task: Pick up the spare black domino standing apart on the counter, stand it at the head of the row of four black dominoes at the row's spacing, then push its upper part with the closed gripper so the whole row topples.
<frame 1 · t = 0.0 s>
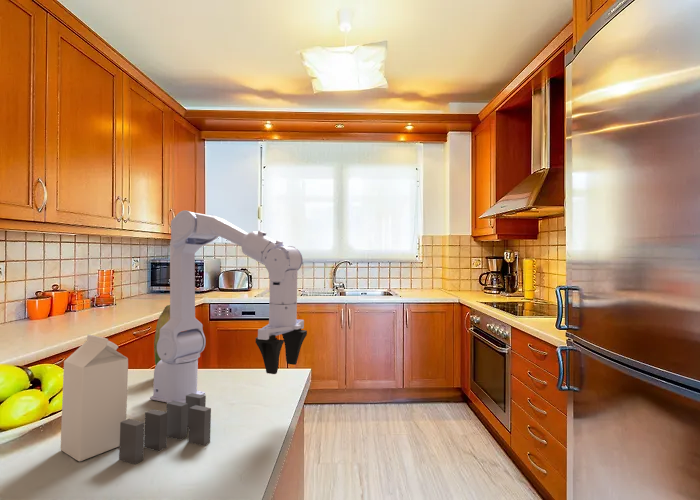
hand: (282, 368, 78), 10 cm above the countertop, tool pointing down, fingers open, 7 cm apart
vegetable: (166, 378, 104), on the countertop
domino end: (131, 459, 60), on the countertop
milk carton: (93, 448, 64), on the countertop
domino b: (194, 426, 73), on the countertop
domino d: (155, 447, 65), on the countertop
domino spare: (199, 442, 67), on the countertop
domino c: (176, 436, 69), on the countertop
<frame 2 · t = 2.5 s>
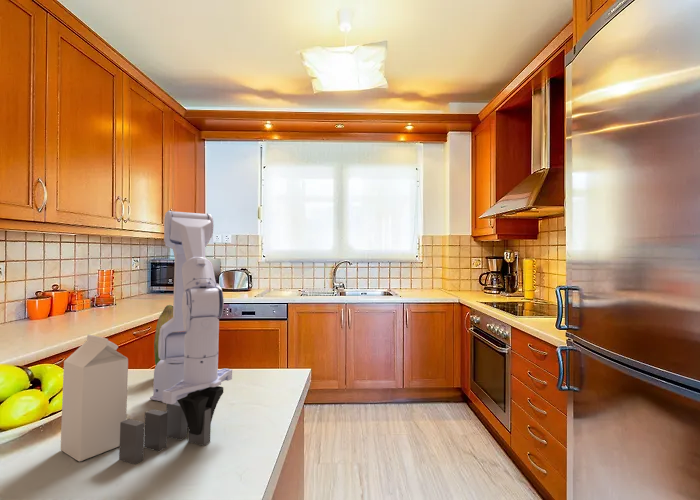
hand: (199, 431, 67), 2 cm above the countertop, tool pointing down, fingers closed on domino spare, 1 cm apart
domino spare: (199, 441, 67), on the countertop, touching gripper
everything else where it was.
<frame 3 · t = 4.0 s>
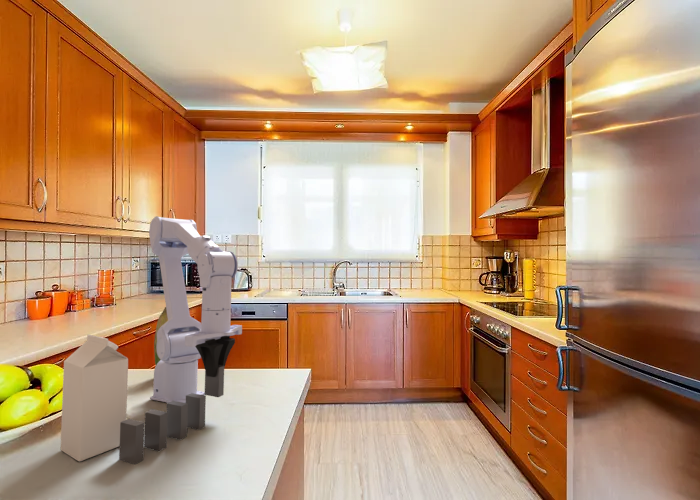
hand: (214, 374, 77), 9 cm above the countertop, tool pointing down, fingers closed on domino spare
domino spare: (214, 394, 77), point 5 cm above the countertop, touching gripper
everything else where it was.
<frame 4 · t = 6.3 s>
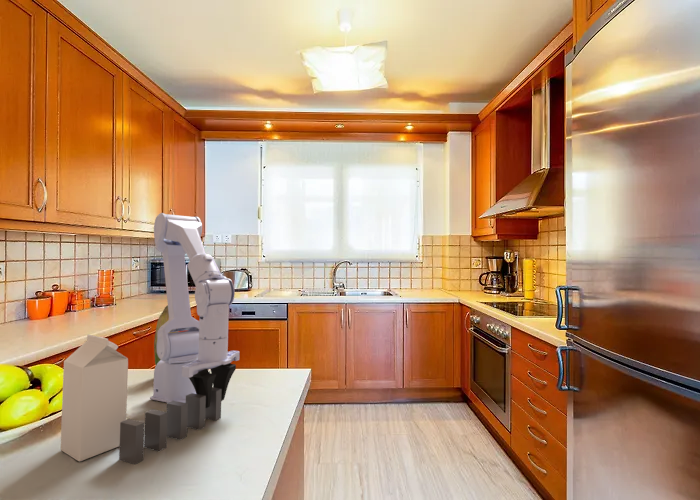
hand: (211, 403, 77), 3 cm above the countertop, tool pointing down, fingers open, 4 cm apart
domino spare: (211, 418, 77), on the countertop
everything else where it was.
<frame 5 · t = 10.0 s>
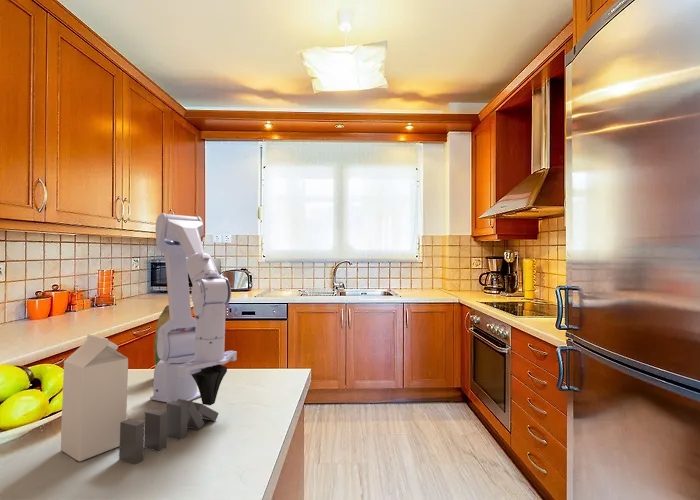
hand: (208, 403, 76), 3 cm above the countertop, tool pointing down, fingers closed
domino b: (194, 424, 73), on the countertop, tilted 31°, touching domino c, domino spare
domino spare: (210, 415, 77), point 1 cm above the countertop, tilted 54°, touching domino b
domino c: (176, 436, 69), on the countertop, touching domino b
everything else where it was.
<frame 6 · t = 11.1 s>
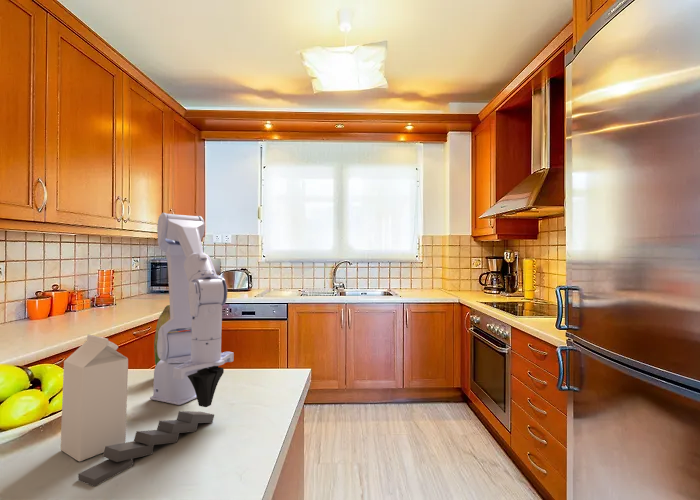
hand: (204, 405, 75), 3 cm above the countertop, tool pointing down, fingers closed
domino end: (125, 461, 59), on the countertop, tilted 90°
domino b: (189, 425, 72), point 1 cm above the countertop, tilted 71°, touching domino c, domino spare
domino d: (145, 447, 63), point 1 cm above the countertop, tilted 76°, touching domino c
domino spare: (206, 416, 76), point 1 cm above the countertop, tilted 70°, touching domino b
domino c: (170, 435, 67), point 1 cm above the countertop, tilted 71°, touching domino b, domino d
everything else where it was.
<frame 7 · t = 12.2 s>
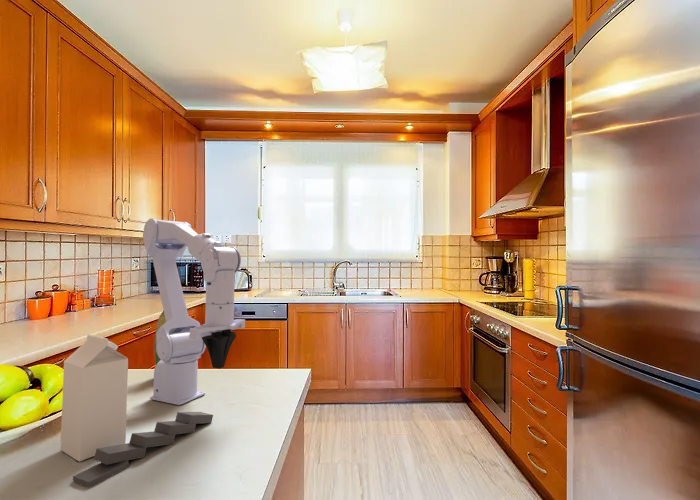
hand: (218, 367, 79), 10 cm above the countertop, tool pointing down, fingers closed
domino end: (120, 464, 59), on the countertop, tilted 90°, touching domino d
domino d: (138, 449, 62), point 1 cm above the countertop, tilted 77°, touching domino end
domino c: (166, 437, 67), point 1 cm above the countertop, tilted 72°, touching domino b
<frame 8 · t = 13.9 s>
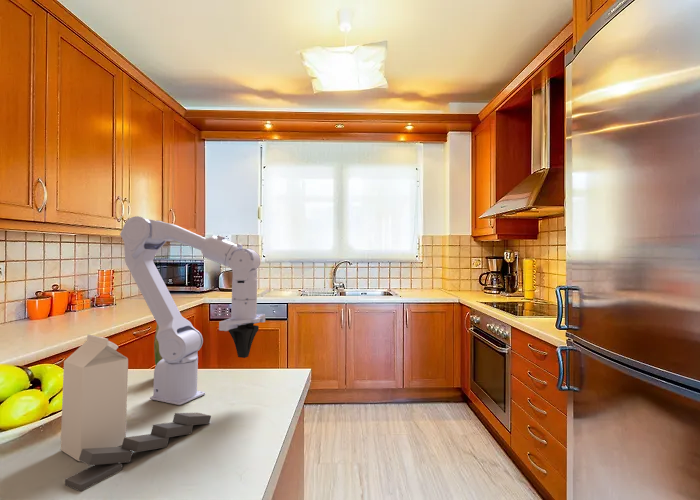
hand: (243, 356, 88), 10 cm above the countertop, tool pointing down, fingers closed
domino d: (125, 454, 60), point 1 cm above the countertop, tilted 72°, touching domino end
domino c: (160, 440, 66), point 1 cm above the countertop, tilted 74°, touching domino b
at the end: domino end tilted 90°; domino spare inside the target area (0.3 cm from its centre), point 0.7 cm above the countertop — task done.
